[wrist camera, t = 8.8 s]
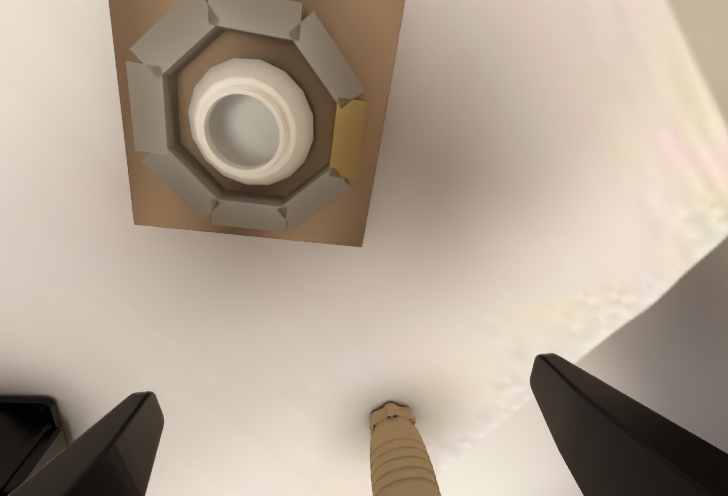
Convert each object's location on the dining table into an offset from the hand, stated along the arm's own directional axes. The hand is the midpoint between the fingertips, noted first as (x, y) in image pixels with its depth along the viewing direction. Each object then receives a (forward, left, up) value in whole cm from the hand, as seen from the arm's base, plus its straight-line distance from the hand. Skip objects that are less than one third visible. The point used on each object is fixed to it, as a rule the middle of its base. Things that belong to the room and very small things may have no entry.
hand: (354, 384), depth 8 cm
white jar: (-4, +4, -11) cm, 12 cm away
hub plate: (-4, +4, -12) cm, 13 cm away
